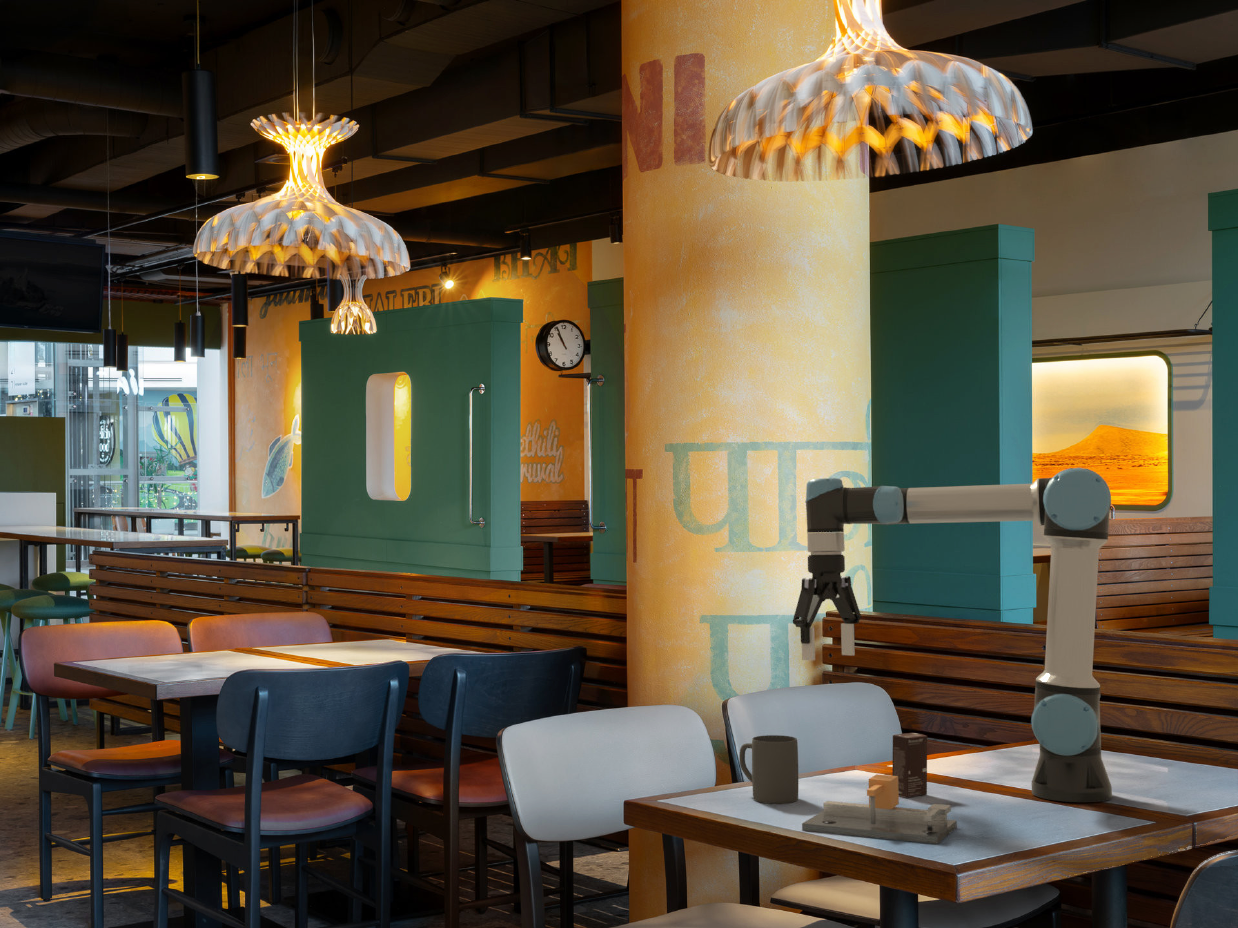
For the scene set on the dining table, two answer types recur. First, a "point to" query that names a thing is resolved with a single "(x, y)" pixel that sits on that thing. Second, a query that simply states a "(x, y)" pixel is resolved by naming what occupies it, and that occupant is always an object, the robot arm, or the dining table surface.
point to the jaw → (882, 793)
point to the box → (910, 764)
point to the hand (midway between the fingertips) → (828, 657)
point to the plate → (878, 828)
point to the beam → (891, 813)
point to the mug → (772, 768)
